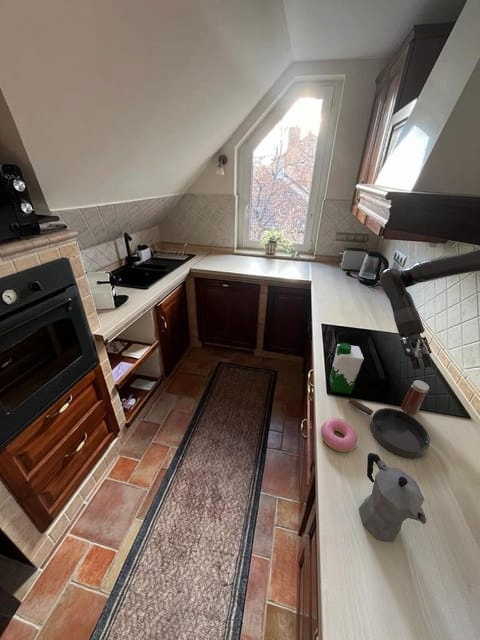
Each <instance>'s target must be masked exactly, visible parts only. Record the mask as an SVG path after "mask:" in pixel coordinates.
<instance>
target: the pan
mask: <svg viewBox="0 0 480 640" xmlns="http://www.w3.org/2000/svg"><path fill="white" fill-rule="evenodd" d="M369 429H370V433H371V435H372V437H373V438H374V440H375V441H376V442H377V444H379V445H380V446H381V448H383V449H384V450H386V451H387V452H389V453H390V454H392V455H394V456H397V457H399V458H402V459H406V460H407V459H408V460H416V459H419V458H421V457H423V456H424V455H425V453H426V452H427V450H428V449H429V448H430V445H431V437H430V434H429V432H428V430H427V429H426V427H425V426H424V425H423V424H422V423H421V421H419V420H418V419H417V418H415V417H414V416H413V415H410V414H408V413H406V412H404V411H403V410H400V409H397V408H392V407H382V408H379V409H377V410H376V411H375V412H373V414H372V416H371V419H370V423H369Z"/></svg>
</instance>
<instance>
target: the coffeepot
mask: <svg viewBox="0 0 480 640" xmlns="http://www.w3.org/2000/svg"><path fill="white" fill-rule="evenodd" d="M366 462H367V463H366V464H367V465H366V477H367V478H368V480H369V481H370V482H371V483H373V485H372V490H371V493H370V494H369V495H368V496H367V497H366V498H365V499H364V501H363V502H362V503H361V505H359V508H358V511H359V516H360V517H359V518H360V519H361V523H362V526H363V527H364V528H365V529H366V530H367V531H368V532H369V534H371V535H372V536H373V537H374V538H375V539H376V540H378V541H383V542H391V543H394V542H395V540H396V539H397V537H398V535H399V534H400V531H401V530H402V527H403V526H402V525H403V522H404V521H406V520H407V519H410V520H414V521H417V522H420V523H421V524H422V525H426V523H427V517H426V514H425V511H424V509H423V508H422V505H423V503H424V501H425V497H424V495H423V493H422V491H421V489H420V487H419V484H418V482H417V481H416V480H415V479H414V478H413V477H412V476H410V475H408V473H406V472H405V471H403V469H401V468H399V467H392V466H388V465H387V463H385V461H384V460H383V459H382V458H381V457H380V455H379V454H377V453H374V452H368V453H367V461H366ZM374 465H376V467H377V468H378V470H379V471H378V472H377V473H376V474H375V476H374V477H373V473H374Z"/></svg>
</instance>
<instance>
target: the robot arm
mask: <svg viewBox="0 0 480 640" xmlns="http://www.w3.org/2000/svg"><path fill="white" fill-rule="evenodd" d="M477 272H480V248H479V249H476V250H471V251H468V252H463V253H458V254H457V253H456V254H450V255H444V256H438V257H434V258H430V259H427V260H422V261H420V262H416V263H414V264H412V265H411V266H410V267H408V268H405V269H402V270H399V269H397V268H395V267H394V268H392V267H391V268H389V267H388V268H387V269H384V270H383V271H382V272H381V274H380V276H379V282H380V286H381V288H382V290H383V292H384V294H385V296H386V298H387V299H388V301H389V305H390V308H391V311H392V315H393V319H394V324H395V326H396V329H397V332H398V336H399V337H400V339H399V340H400V344H401V347H402V351H403V355H404V357H407V358H408V359H409V361H410V363H411V367H412V369H413V370H418V369H419V370H420V369H422V364H421V362H420V359H419V357H418V355H420V356H421V360H422V363H423V366H424V368H431V367H433V363H432V360H431V357H430V356H431V354H432V349H431V347H430V344H429V341H428V339H427V337H426V336H421V334H423V333H425V332H426V330H425V327H424V325H423V321H422V319H421V316H420V313H419V311H418V309H417V308H416V304H415V301H414V298H413V297H412V295H411V293H410V292H409V291H408V290H407V288H409V287H413V286H415V285H418V284H423V283H427V282H432V281H436V280H440V279H445V278H450V277H454V276H458V275H464V274H471V273H477Z"/></svg>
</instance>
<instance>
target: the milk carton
mask: <svg viewBox="0 0 480 640" xmlns="http://www.w3.org/2000/svg"><path fill="white" fill-rule="evenodd" d="M334 354H335V355H334V359H333V362H332V366H331V370H330V374H329V380H328V381H329V385H330V390H331V389H332V390H331V393H336V392H339V393H338V394H344V393H346V394H345V395H352V392H353V389H354V387H355V384H356V381H357V378H358V375H359V372H360V370H361V366H362V363H363V362H364V361H365V360H364V359H365V358H364V356H363V353H362V351H361V348H360V346H359V345H351V344H350V343H347V342H341V343H337V345H336V350H335V353H334Z"/></svg>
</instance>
